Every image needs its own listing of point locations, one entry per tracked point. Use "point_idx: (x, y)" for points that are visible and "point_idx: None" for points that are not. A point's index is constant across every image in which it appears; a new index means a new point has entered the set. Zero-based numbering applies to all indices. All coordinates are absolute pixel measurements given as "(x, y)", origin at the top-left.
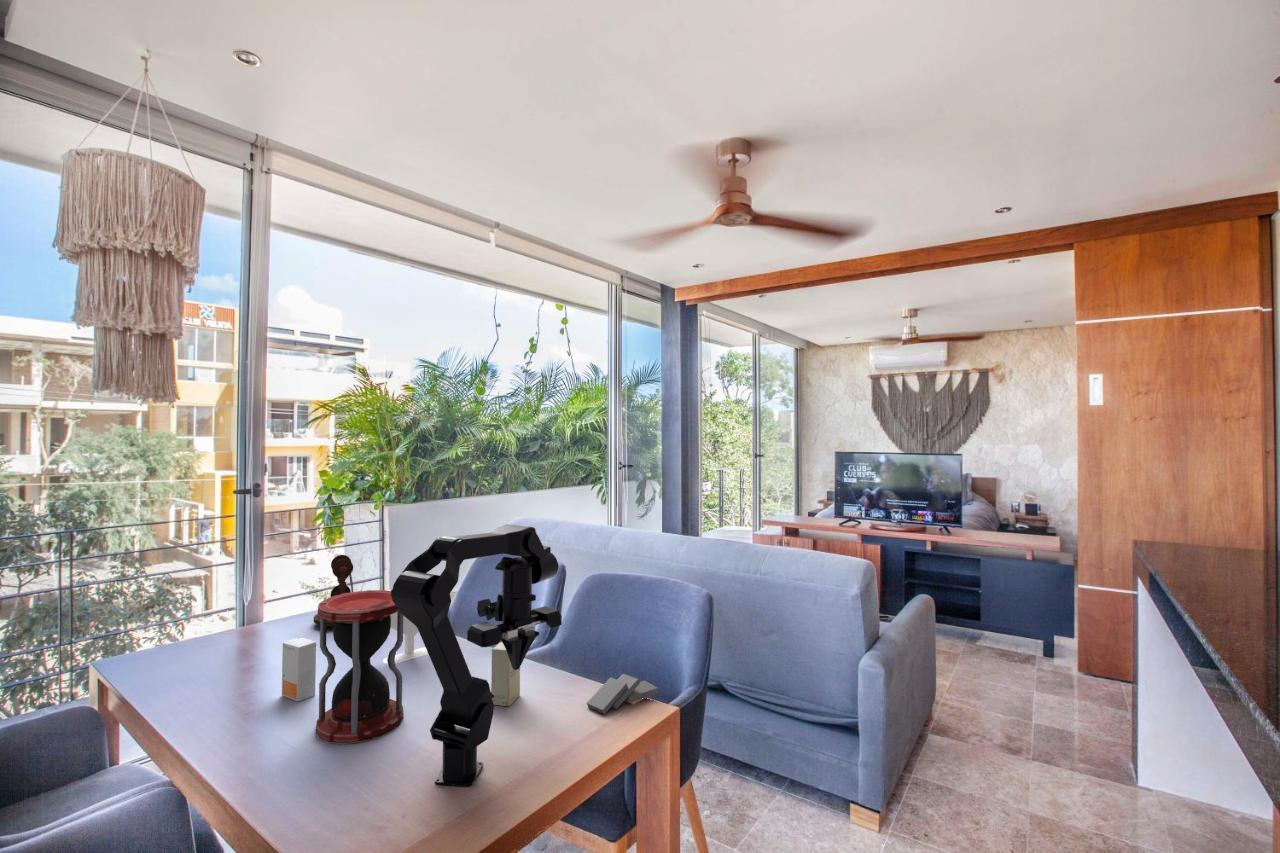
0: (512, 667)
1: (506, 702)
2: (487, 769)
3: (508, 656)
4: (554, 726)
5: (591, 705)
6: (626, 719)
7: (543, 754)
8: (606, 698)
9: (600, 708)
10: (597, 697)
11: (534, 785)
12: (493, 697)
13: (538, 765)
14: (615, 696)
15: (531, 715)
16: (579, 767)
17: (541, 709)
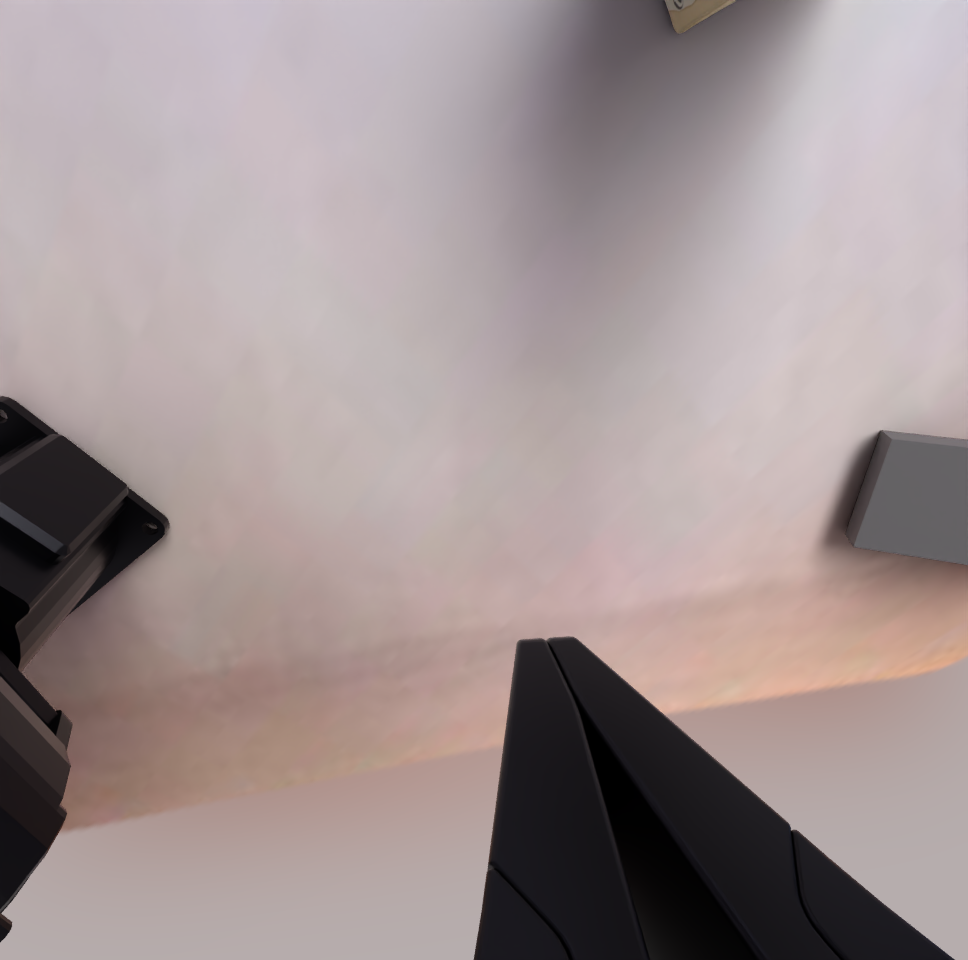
0: (517, 651)
1: (681, 4)
2: (180, 553)
3: (498, 790)
4: (643, 461)
5: (878, 472)
6: (845, 609)
7: (441, 605)
8: (938, 529)
9: (861, 531)
10: (943, 476)
11: (286, 727)
12: (3, 923)
13: (375, 650)
14: (962, 561)
15: (667, 274)
16: (475, 731)
17: (754, 257)
